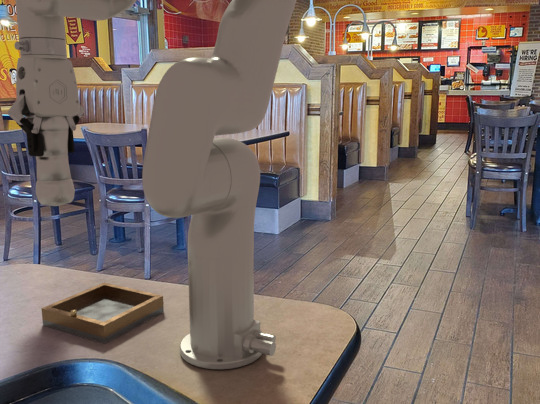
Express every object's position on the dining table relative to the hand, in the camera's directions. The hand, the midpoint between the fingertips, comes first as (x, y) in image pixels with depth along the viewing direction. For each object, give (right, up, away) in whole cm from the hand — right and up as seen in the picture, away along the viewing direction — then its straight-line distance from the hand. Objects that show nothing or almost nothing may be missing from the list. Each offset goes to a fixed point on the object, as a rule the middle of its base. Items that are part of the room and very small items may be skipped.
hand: (52, 153), depth 96 cm
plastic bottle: (0, -10, +2) cm, 10 cm away
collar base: (+11, -29, -5) cm, 31 cm away
